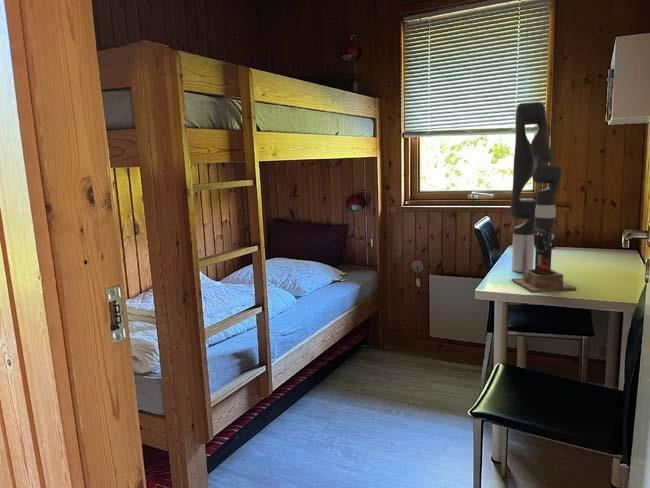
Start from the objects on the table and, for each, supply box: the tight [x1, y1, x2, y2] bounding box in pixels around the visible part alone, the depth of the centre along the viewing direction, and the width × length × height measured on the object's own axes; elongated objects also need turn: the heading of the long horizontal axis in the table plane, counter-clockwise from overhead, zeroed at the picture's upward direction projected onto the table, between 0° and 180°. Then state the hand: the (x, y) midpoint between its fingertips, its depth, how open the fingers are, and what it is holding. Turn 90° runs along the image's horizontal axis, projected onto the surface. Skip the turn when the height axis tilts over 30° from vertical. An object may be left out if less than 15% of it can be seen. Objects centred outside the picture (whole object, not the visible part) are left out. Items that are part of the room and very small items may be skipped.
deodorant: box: [534, 235, 553, 273], centre depth 198 cm, size 6×6×15 cm
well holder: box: [511, 268, 577, 293], centre depth 200 cm, size 18×18×6 cm
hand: (543, 257), depth 199 cm, fingers closed on deodorant, 6 cm apart
